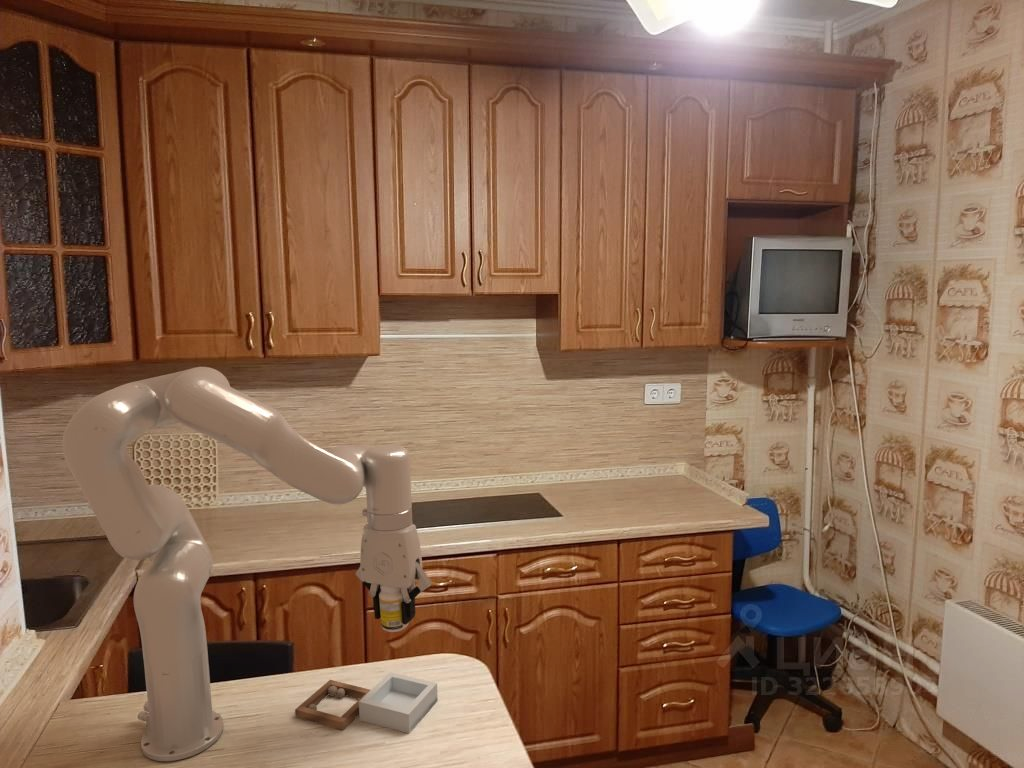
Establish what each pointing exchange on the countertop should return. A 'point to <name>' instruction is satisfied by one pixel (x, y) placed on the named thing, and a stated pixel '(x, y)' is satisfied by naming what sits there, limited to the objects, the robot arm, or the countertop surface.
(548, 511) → the countertop surface
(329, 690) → the tray
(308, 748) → the countertop surface
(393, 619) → the supplement bottle
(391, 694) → the grey square open box
